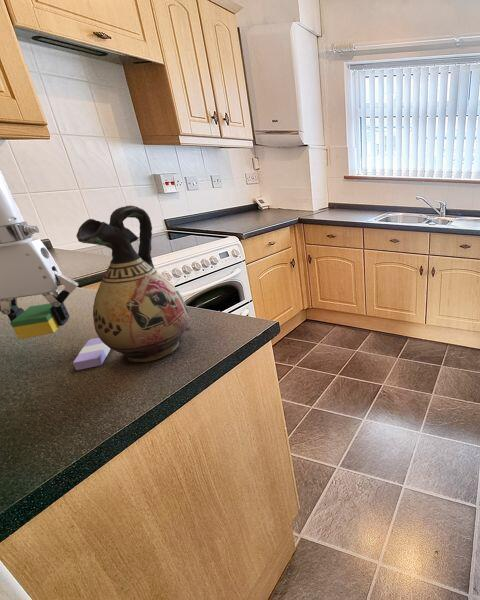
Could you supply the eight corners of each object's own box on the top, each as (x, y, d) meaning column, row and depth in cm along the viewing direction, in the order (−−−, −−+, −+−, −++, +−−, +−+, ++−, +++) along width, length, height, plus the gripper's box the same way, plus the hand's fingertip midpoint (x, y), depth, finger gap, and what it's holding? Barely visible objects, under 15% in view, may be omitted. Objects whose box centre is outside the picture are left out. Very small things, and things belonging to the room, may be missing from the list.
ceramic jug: (149, 378, 63) (88, 217, 51) (91, 364, 68) (22, 213, 55) (218, 334, 78) (184, 202, 66) (167, 326, 82) (126, 199, 70)
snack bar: (101, 365, 67) (98, 357, 67) (75, 370, 66) (72, 362, 65) (114, 342, 76) (111, 335, 75) (91, 346, 74) (88, 339, 73)
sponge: (37, 321, 69) (29, 306, 68) (69, 316, 71) (62, 301, 70) (18, 339, 62) (9, 322, 61) (53, 333, 64) (45, 316, 63)
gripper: (69, 226, 66) (104, 310, 73) (-56, 236, 59) (-4, 327, 66) (53, 233, 60) (93, 324, 67) (-89, 246, 53) (-27, 345, 60)
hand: (44, 325), depth 66 cm, fingers closed on sponge, 5 cm apart
